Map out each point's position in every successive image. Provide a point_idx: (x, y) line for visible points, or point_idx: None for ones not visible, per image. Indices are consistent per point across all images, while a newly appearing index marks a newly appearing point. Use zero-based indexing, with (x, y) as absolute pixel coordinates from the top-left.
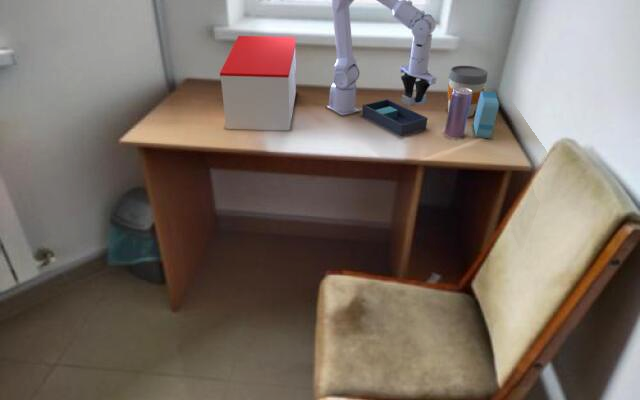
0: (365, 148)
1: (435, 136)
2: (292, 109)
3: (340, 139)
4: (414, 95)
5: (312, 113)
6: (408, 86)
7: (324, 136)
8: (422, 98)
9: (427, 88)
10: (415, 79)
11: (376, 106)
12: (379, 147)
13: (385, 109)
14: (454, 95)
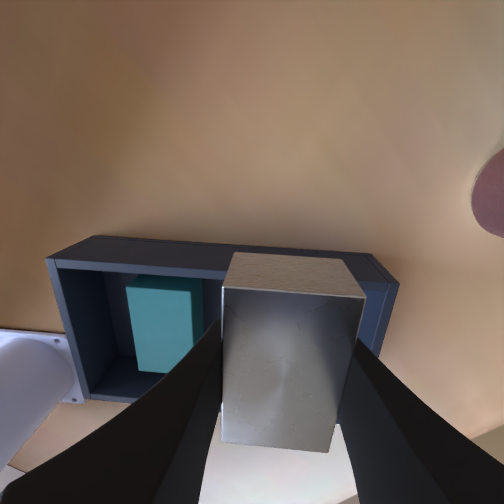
0: (318, 475)
1: (443, 268)
2: (3, 477)
3: (233, 482)
4: (302, 396)
5: (35, 439)
6: (202, 462)
7: None
8: (366, 348)
9: (480, 457)
10: (169, 482)
11: (90, 320)
12: (341, 452)
13: (153, 332)
14: None
